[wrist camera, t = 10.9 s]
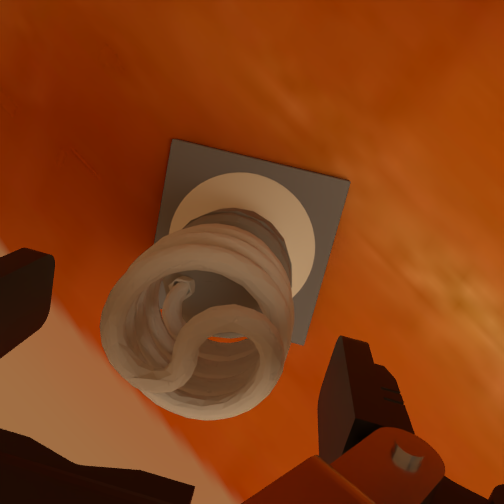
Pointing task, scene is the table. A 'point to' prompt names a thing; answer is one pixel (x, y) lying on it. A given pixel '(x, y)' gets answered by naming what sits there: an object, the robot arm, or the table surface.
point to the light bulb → (204, 316)
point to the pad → (259, 209)
